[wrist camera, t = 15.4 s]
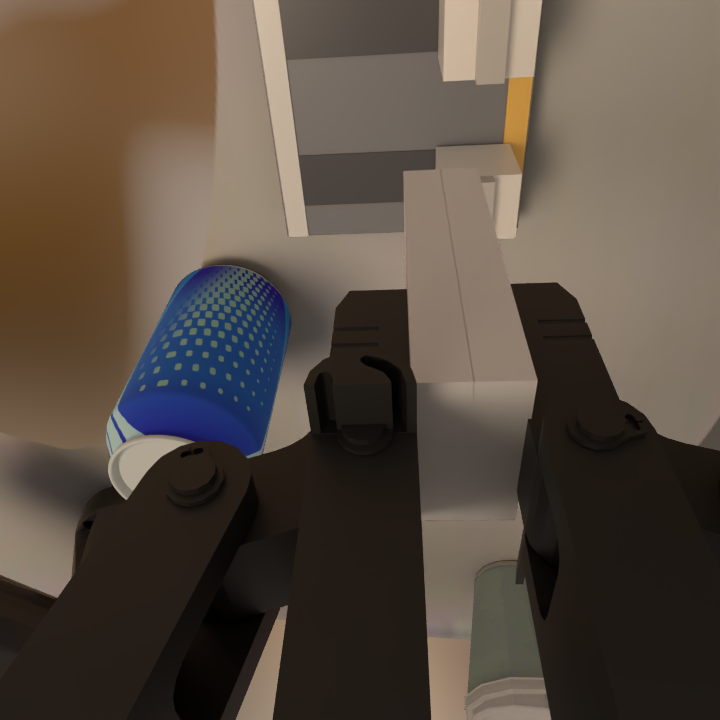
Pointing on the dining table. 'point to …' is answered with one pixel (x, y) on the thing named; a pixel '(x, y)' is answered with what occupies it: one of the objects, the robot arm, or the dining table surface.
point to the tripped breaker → (488, 39)
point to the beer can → (202, 373)
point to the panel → (379, 114)
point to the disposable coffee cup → (504, 650)
